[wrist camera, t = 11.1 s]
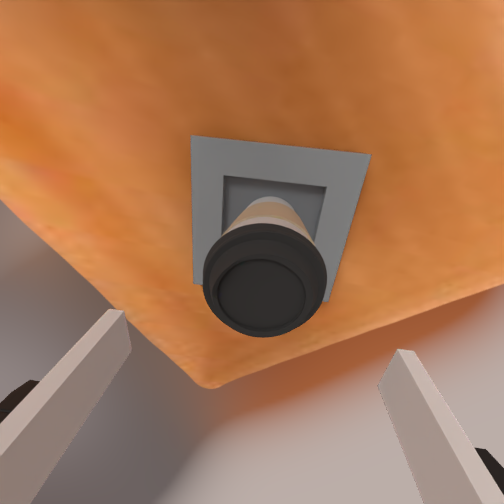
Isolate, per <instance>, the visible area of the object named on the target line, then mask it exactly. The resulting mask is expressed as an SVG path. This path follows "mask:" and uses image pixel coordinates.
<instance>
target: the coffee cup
mask: <svg viewBox="0 0 504 504" xmlns="http://www.w3.org/2000/svg"><path fill="white" fill-rule="evenodd" d="M326 286H327V270H326V266H325V263H324V260H323V258H322V256H321V254H320V252H319V251H318V250H317V248H316V247H315V244H314V242H313V240H312V239H311V237H310V235H309V233H308V231H307V230H306V228H305V226H304V224H303V222H302V221H301V219H300V217H299V216H298V215H297V213H296V212H295V211H294V209H293V208H292V206H291V205H290V204H289V203H288V202H286V201H285V200H283V199H281V198H278V197H272V196H268V197H262V198H259V199H257V200H255V201H253V202H252V203H251V204H250V205H249V206H248V207H247V208H246V209H245V210H244V211H243V212H242V213H241V214H240V215H239V216H238V217H237V219H236V220H235V221H234V222H233V223H232V224H231V225H230V227H229V228H228V229H227V230H226V231H225V232H224V234H223V235H222V236H221V238H220V239H218V240H217V241H216V242H215V244H214V245H213V246H212V247H211V249H210V250H209V252H208V254H207V256H206V259H205V262H204V266H203V292H204V296H205V299H206V301H207V304H208V305H209V307H210V309H211V310H212V312H213V313H214V314H215V315H216V316H217V317H218V318H219V319H220V320H221V321H222V322H223V323H225V324H226V325H228V326H229V327H231V328H232V329H234V330H236V331H238V332H240V333H242V334H245V335H248V336H253V337H274V336H279V335H282V334H285V333H287V332H289V331H291V330H293V329H295V328H297V327H299V326H300V325H302V324H303V323H305V322H306V321H307V320H309V319H310V318H311V317H312V316H313V315H314V313H315V312H316V311H317V309H318V308H319V306H320V305H321V303H322V300H323V298H324V295H325V290H326Z"/></svg>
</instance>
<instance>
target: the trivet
mask: <svg viewBox="0 0 504 504" xmlns="http://www.w3.org/2000/svg"><path fill="white" fill-rule="evenodd" d="M370 158H371V154H366V153H358V152H349V151H339V150H330V149H320V148H311V147H302V146H292V145H283V144H273V143H264V142H255V141H245V140H236V139H226V138H217V137H208V136H198V135H191V183H192V235H193V284H199V285H203V266H204V262H205V259H206V256H207V254H208V252H209V250H210V249H211V247H212V246H213V245H214V244H215V242H216V241H217V240H218V239H220V238H221V236H222V235H223V234H224V232H225V231H226V230H227V229H228V228H229V227H230V225H231V224H232V223H233V222H234V221H235V220H236V219H237V217H238V216H239V215H240V214H241V213H242V212H243V211H244V210H245V209H246V208H247V207H248V206H249V205H250V204H251V203H252V202H253V201H255V200H257V199H259V198H262V197H268V196H272V197H278V198H281V199H283V200H285V201H286V202H288V203H289V204H290V205H291V206H292V208H293V209H294V211H295V212H296V213H297V215H298V216H299V217H300V219H301V221H302V222H303V224H304V226H305V228H306V230H307V231H308V233H309V235H310V237H311V239H312V240H313V242H314V244H315V247H316V248H317V250H318V251H319V252H320V254H321V256H322V258H323V260H324V263H325V266H326V270H327V286H326V290H325V295H324V298H323V300H322V301H324V302H328V301H329V297H330V294H331V291H332V287H333V284H334V280H335V277H336V274H337V270H338V267H339V263H340V260H341V257H342V253H343V250H344V247H345V243H346V240H347V236H348V233H349V230H350V226H351V223H352V219H353V216H354V213H355V209H356V206H357V202H358V199H359V196H360V192H361V189H362V185H363V182H364V179H365V175H366V172H367V169H368V165H369V162H370Z"/></svg>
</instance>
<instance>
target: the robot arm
mask: <svg viewBox="0 0 504 504" xmlns="http://www.w3.org/2000/svg"><path fill="white" fill-rule="evenodd" d="M131 351H132V348H131V343H130V338H129V333H128V328H127V323H126V318H125V313H124V311H121V310H114V309H108V310H107V311H106V313H105V314H104V315H103V316H102V317H101V318H100V319H99V320H98V321H97V322H96V323H95V324H94V325H93V326H92V327H91V328H90V329H89V330H88V332H87V333H86V334H85V335H84V336H83V337H82V338H81V339H80V340H79V341H78V342H77V343H76V344H75V345H74V346H73V347H72V348H71V349H70V351H69V352H68V353H67V354H66V355H65V356H64V357H63V358H62V359H61V360H60V361H59V362H58V363H57V364H56V365H55V366H54V367H53V369H52V370H51V371H50V372H49V373H48V374H47V375H46V376H45V377H44V378H43V379H42V380H41V381H34V380H29V381H28V382H26V383H25V384H23V385H22V386H20V387H19V388H17V389H16V390H14V391H13V392H11V393H10V394H9V395H8V396H7V397H6V398H5V399H4V400H3V401H2V402H1V403H0V504H30V503H31V502H32V500H33V499H34V497H35V496H36V494H37V493H38V491H39V489H40V488H41V486H42V485H43V484H44V482H45V481H46V479H47V478H48V476H49V475H50V473H51V472H52V470H53V468H54V467H55V465H56V464H57V462H58V461H59V460H60V458H61V456H62V455H63V453H64V452H65V450H66V449H67V447H68V446H69V444H70V443H71V441H72V440H73V438H74V437H75V435H76V434H77V432H78V431H79V429H80V428H81V426H82V425H83V423H84V422H85V420H86V419H87V417H88V416H89V414H90V412H91V411H92V410H93V408H94V407H95V405H96V404H97V402H98V401H99V399H100V398H101V396H102V394H103V393H104V391H105V390H106V389H107V387H108V386H109V384H110V383H111V381H112V379H113V378H114V377H115V375H116V373H117V372H118V370H119V369H120V367H121V366H122V364H123V363H124V361H125V360H126V358H127V357H128V355H129V354H130V352H131ZM378 388H379V391H380V394H381V396H382V399H383V401H384V404H385V406H386V409H387V411H388V414H389V416H390V419H391V421H392V424H393V426H394V429H395V432H396V434H397V437H398V439H399V442H400V444H401V447H402V449H403V452H404V454H405V457H406V459H407V462H408V465H409V467H410V469H411V472H412V475H413V477H414V480H415V482H416V485H417V487H418V490H419V492H420V495H421V498H422V500H423V503H424V504H504V468H503V467H502V466H501V465H500V464H499V463H498V462H497V461H496V460H495V458H493V456H492V455H491V454H490V453H489V452H488V451H487V450H486V449H480V448H474V447H473V445H472V444H471V442H470V441H469V439H468V437H467V436H466V434H465V433H464V431H463V429H462V428H461V426H460V424H459V423H458V421H457V420H456V418H455V416H454V415H453V413H452V411H451V410H450V408H449V407H448V405H447V404H446V402H445V400H444V399H443V397H442V396H441V394H440V392H439V391H438V389H437V388H436V386H435V384H434V383H433V381H432V379H431V378H430V376H429V375H428V373H427V372H426V370H425V368H424V366H423V365H422V363H421V362H420V360H419V359H418V357H417V355H416V354H415V352H414V351H408V350H402V349H397V350H396V352H395V354H394V356H393V358H392V360H391V361H390V364H389V365H388V367H387V369H386V371H385V373H384V375H383V377H382V378H381V380H380V382H379V384H378Z"/></svg>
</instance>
